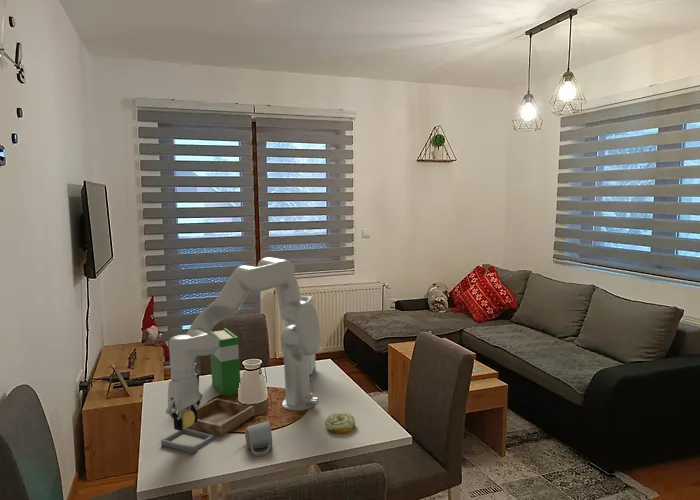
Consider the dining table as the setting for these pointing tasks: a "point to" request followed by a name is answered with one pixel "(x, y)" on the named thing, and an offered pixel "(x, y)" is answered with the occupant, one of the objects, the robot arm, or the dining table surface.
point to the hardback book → (226, 363)
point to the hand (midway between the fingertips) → (186, 425)
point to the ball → (187, 418)
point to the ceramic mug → (259, 437)
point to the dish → (184, 448)
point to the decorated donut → (340, 422)
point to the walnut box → (220, 417)
